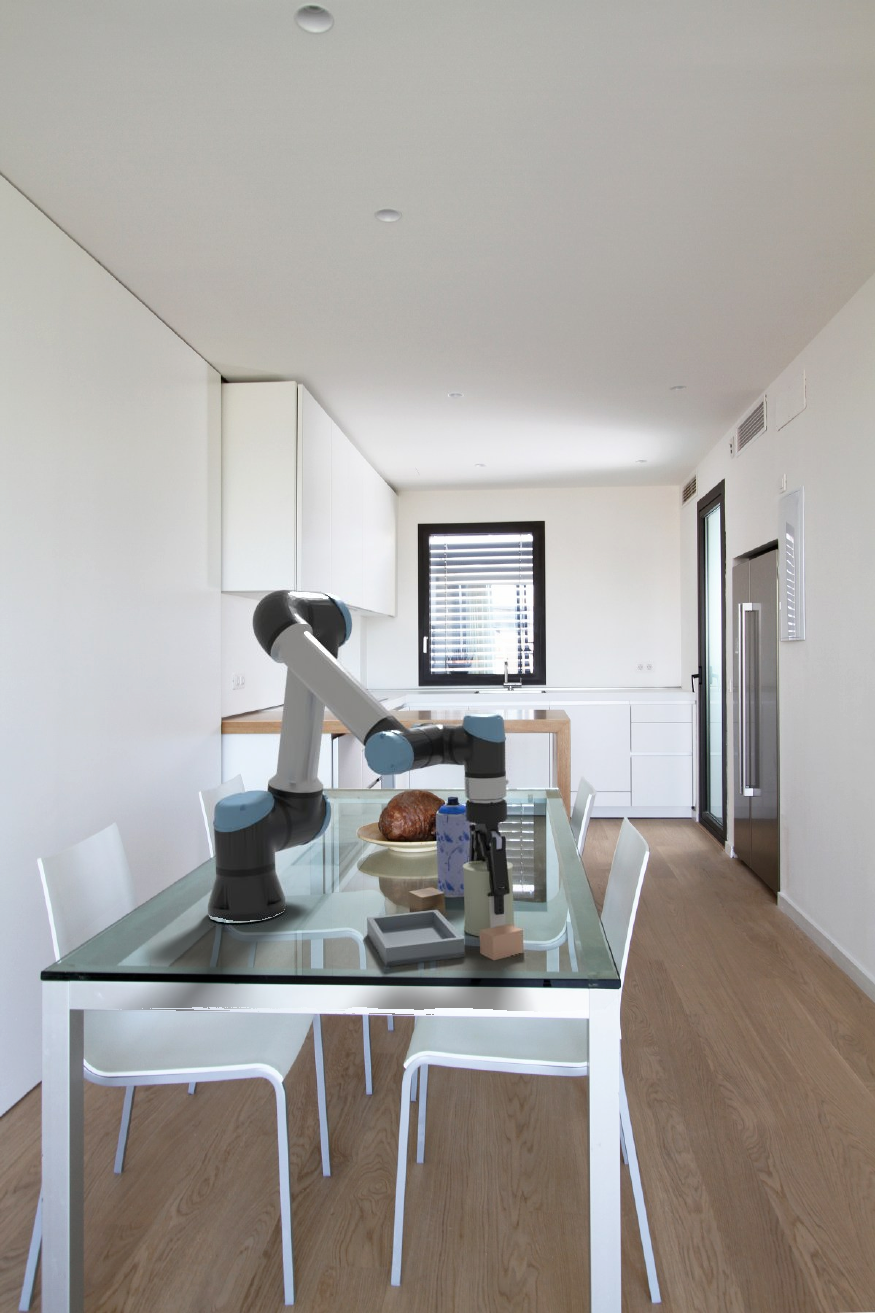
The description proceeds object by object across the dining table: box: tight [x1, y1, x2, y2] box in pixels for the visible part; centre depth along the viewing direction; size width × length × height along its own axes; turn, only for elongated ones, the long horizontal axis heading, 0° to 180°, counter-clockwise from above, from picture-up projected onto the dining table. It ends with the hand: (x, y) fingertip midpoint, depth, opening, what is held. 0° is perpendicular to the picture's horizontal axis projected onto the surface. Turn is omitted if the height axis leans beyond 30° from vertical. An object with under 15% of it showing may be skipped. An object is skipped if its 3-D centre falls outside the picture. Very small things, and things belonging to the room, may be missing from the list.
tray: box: [366, 910, 466, 968], centre depth 148 cm, size 17×13×3 cm
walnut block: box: [408, 886, 446, 918], centre depth 164 cm, size 5×5×5 cm
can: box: [463, 861, 515, 937], centre depth 155 cm, size 9×9×12 cm
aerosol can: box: [435, 796, 472, 898], centre depth 181 cm, size 8×8×20 cm
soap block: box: [479, 924, 524, 961], centre depth 143 cm, size 6×4×4 cm, turn 120°
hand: (489, 923), depth 155 cm, fingers closed on can, 9 cm apart
